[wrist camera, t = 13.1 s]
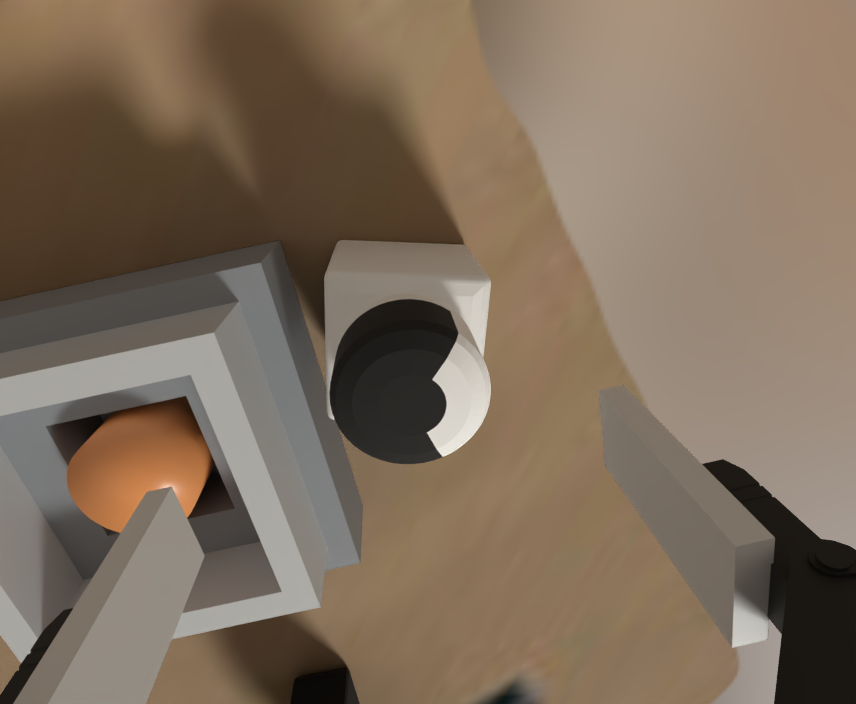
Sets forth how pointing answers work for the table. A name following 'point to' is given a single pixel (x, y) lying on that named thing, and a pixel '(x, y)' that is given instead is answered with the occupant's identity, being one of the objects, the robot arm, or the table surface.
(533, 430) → the table surface
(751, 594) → the robot arm
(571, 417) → the table surface
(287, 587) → the grey open box
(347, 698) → the electronic device
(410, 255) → the medicine bottle
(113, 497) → the button
